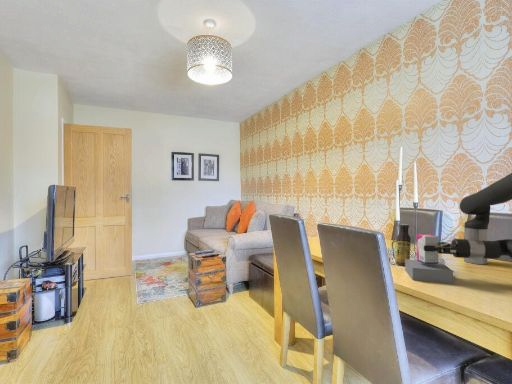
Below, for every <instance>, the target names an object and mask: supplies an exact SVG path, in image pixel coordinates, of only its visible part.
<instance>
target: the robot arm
mask: <svg viewBox="0 0 512 384" xmlns="http://www.w3.org/2000/svg"><path fill="white" fill-rule="evenodd" d="M510 201H512V172H510V173H509V174H507V175H506V176H504V177H502V178H501V179H499V180H497V181H494V182H493V183H491V184H490V185H488V186H486V187H484V188H482V189H481V190H479V191H476V192H475V193H472V194H470V195H467V196H465V197H463V198H462V199H461V200H460V203H459V210H460V211H461V212H462V213H463V214H466V215H470V216H473V215H475V216H474V217H473V218H472V219H470V220H467V221H465V222H464V225H463V226H464V233H463V234H464V238H454V239H452V241H451V243H448V242H447V241H438V246H424V251H432V252H436V253H437V252H438V255H440V254H442V255H443V254H445V255H453V257H454V258H461V259H463V260H464V262H466V263H469V264H475V265H488V259H491V260H495V259H497V260H498V259H499V258H501V257H502V256H507V257H510V259H512V239H510V238H509V239H508V238H507V239H498V240H489V237H488V236H489V232H488V231H489V230H488V229H489V227H488V226H489V224H490V219H491V218H490V216H491V206H495V205H496V206H497V205H500V204H504V203H507V202H510Z"/></svg>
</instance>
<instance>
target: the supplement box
mask: <svg viewBox="0 0 512 384" xmlns="http://www.w3.org/2000/svg"><path fill="white" fill-rule="evenodd" d="M416 237H417V239H416V242H417V244H416V247H417V248H416V260H417V261H420V262H422V263H424V264H438V262H439V253H438V252H437V253H436V252H432V251H424V246H438V242H439V236H438V235H433V234H429V233H428V234H421V233H418V234H417V236H416Z"/></svg>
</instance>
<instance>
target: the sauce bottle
mask: <svg viewBox="0 0 512 384" xmlns="http://www.w3.org/2000/svg"><path fill="white" fill-rule="evenodd" d="M409 228H410V224H408V223H407V224H406V223H399V232H398V235H397V236H396V242H395V258H394V259H395V260H394V261H395V264H396V265H398V266H403V267H405V259H408V260H411V246H412V245H411V243H412V241H411V240H412V238H411V236H410V235H409Z"/></svg>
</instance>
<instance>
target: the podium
mask: <svg viewBox="0 0 512 384" xmlns="http://www.w3.org/2000/svg"><path fill="white" fill-rule="evenodd" d="M404 270H405V272H406V273H407V274H408V276H409V277H410V279H411V280H412V281H420V282H430V283H439V284H440V283H441V284H451V285H453V284H454V270H452V269H451V268H450V267H448V266H447V265H446V264H444V263H443V262H442V261H438V264H424V263H422V262H420V261H417V259H410V260H408V259H405V266H404Z"/></svg>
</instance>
